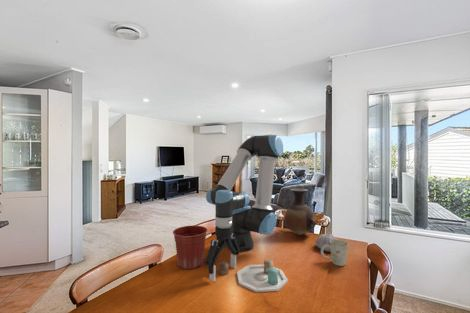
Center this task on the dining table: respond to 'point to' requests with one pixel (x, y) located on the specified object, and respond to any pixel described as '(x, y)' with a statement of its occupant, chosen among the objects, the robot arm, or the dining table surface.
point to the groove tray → (259, 279)
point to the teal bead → (272, 276)
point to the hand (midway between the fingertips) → (223, 274)
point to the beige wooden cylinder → (267, 265)
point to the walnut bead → (223, 268)
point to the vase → (299, 215)
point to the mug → (337, 252)
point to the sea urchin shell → (325, 241)
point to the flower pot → (190, 246)
